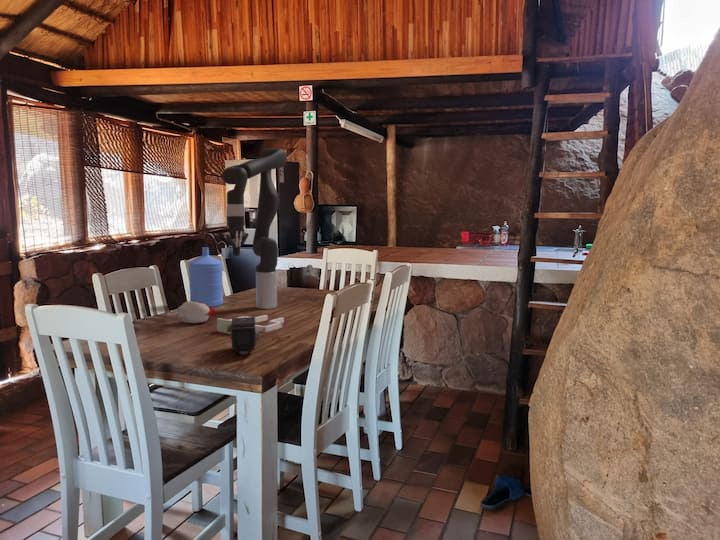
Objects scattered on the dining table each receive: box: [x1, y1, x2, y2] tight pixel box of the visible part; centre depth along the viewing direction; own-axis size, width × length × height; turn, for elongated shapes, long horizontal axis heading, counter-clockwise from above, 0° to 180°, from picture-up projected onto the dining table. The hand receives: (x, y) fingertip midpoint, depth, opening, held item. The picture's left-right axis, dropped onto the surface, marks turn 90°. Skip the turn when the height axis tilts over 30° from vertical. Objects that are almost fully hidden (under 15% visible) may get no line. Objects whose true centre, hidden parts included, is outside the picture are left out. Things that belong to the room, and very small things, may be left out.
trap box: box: [216, 314, 285, 335], centre depth 218 cm, size 27×22×5 cm
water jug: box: [188, 246, 224, 308], centre depth 263 cm, size 16×16×28 cm
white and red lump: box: [175, 300, 216, 324], centre depth 226 cm, size 9×11×15 cm
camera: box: [227, 316, 261, 355], centre depth 181 cm, size 11×11×15 cm
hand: (236, 255), depth 233 cm, fingers closed
